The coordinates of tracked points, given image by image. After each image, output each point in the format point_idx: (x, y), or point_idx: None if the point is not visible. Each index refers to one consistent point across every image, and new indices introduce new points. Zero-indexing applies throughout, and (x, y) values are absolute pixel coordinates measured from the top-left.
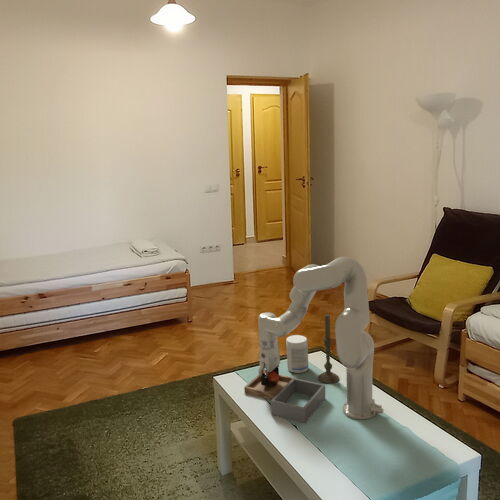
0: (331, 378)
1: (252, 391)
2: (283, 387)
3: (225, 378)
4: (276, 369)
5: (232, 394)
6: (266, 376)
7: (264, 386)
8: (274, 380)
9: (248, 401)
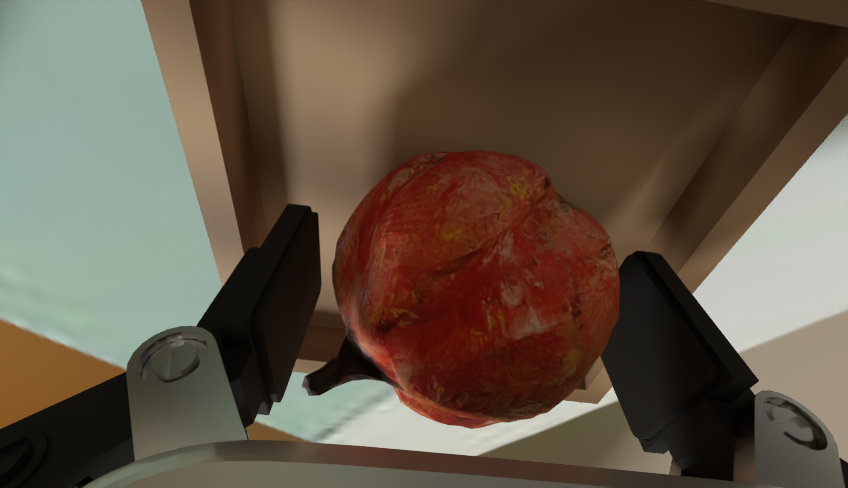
0: None
1: None
2: (442, 37)
3: None
4: (274, 319)
5: (604, 400)
6: (774, 421)
7: None
8: (590, 221)
9: (735, 302)
